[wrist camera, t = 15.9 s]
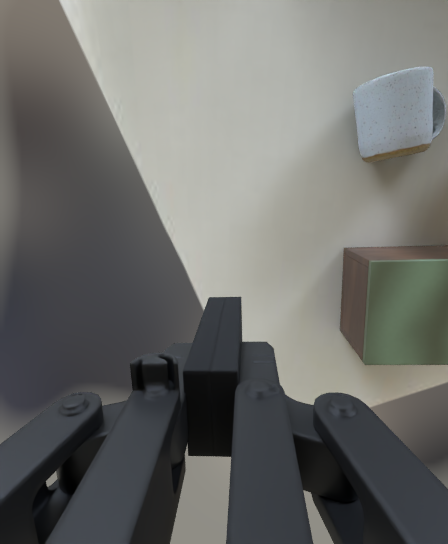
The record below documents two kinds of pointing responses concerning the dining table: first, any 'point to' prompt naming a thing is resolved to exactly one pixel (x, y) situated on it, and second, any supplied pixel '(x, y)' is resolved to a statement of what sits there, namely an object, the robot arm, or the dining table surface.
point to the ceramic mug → (398, 114)
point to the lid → (406, 312)
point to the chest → (358, 279)
